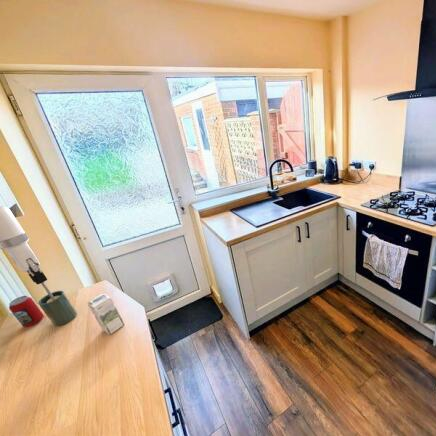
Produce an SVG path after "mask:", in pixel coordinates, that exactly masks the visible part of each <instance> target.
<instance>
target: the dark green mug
mask: <svg viewBox="0 0 436 436" xmlns="http://www.w3.org/2000/svg"><path fill="white" fill-rule="evenodd" d="M51 294H52V295H53V297H54V296H59V297H58V298H57V299H55V300H53V301H51V302H48V303H47V301H48V300H49V299H50V298H51V297H50V296H49V294H48V293H47V294H46V295H44V296H43V297H41V299H40V300H39V301H38V303H37V304H38V305H39V308H41V309H42V311H43V312H44V314H45V315H46V316H47V318H48V319H49V321H50V322H51V324H52V325H53V326H54V327H62V326H64V325H65V326H66V325H67V324H69V323H70V322H72V321H74V319H75V318H76V317H77V316H78V312H77V310H76V309H75V307H74V305H73V304H72V302H71V301H70V299H69V298H68V296H67V295H66V293H65V291H63V290H56V291H52V292H51Z"/></svg>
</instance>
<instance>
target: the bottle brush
mask: <svg viewBox="0 0 436 436" xmlns="http://www.w3.org/2000/svg"><path fill="white" fill-rule="evenodd" d="M31 271H32V270H31ZM45 282H46V281H44V282H42V283H40V284H41V286H42V287H43V289H44V290H45V291H46V293H47V295H48V294H49V296H50V297H51V298H50V299H49V300H48V301H47V303H48V302H51V301H53V300H55V299H57V298H58V297H59V296H54V297H53V295H52V294H51V293H52V291H50V289H49V287H48V286H47V285H46V283H45Z"/></svg>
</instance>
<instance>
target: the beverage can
mask: <svg viewBox="0 0 436 436" xmlns="http://www.w3.org/2000/svg"><path fill="white" fill-rule="evenodd" d="M8 309H9V311H10V312H11V314H12V315H13V316H14V317H15V318H16V320H17V321H18V322H19V323H20V324H21V326H22V327H24V328H28V327H32V326H35V325H36V324H38V323H40V322H41V321H42V319H43V318H44V316H45V315H44V313H43V312H42V310H41V309H40V307H39V306H38V305H37V304H36V302H35V301H34V299H33V298H32V297H29V296H28V295H22V296H19V297H16V298H15V299H13V300H11V301H10V302H9V306H8Z"/></svg>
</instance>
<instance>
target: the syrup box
mask: <svg viewBox="0 0 436 436" xmlns="http://www.w3.org/2000/svg"><path fill="white" fill-rule="evenodd" d="M87 306H88V307H89V309H90V311H91V313H92V314H93V316H94V317H95V319H96V321H97V323H98V325H99V326H100V328H101V330H102V331H103V332H105V333H106V334H108V336H111V335H113V334H114V333H115V332H117V331H118V330H120V329H121V328H122V327H123V326H125V322H124V320H123V319H122V316H121V314H120V312H119V311H118V309H117V307H116V305H115V303H114V301H113V299H112V297H110V296H108V295H107V294H105V293H102V294H100V295H98V296H96V297H94V298H93V299H91V300H90V301H88V302H87Z"/></svg>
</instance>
